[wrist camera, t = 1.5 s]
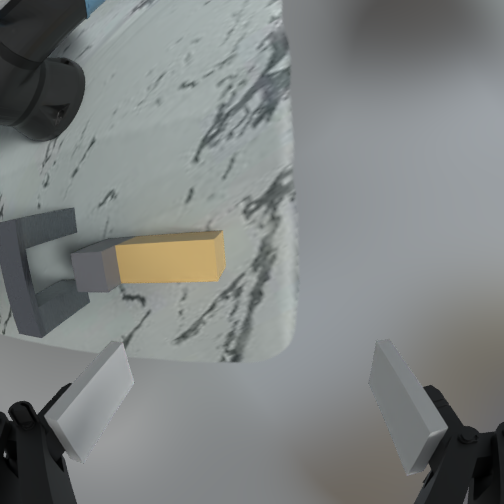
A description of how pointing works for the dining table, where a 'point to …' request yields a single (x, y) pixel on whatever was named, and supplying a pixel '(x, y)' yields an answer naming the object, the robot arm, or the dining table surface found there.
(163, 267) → the plug
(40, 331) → the grey rectangular arch
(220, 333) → the dining table surface
